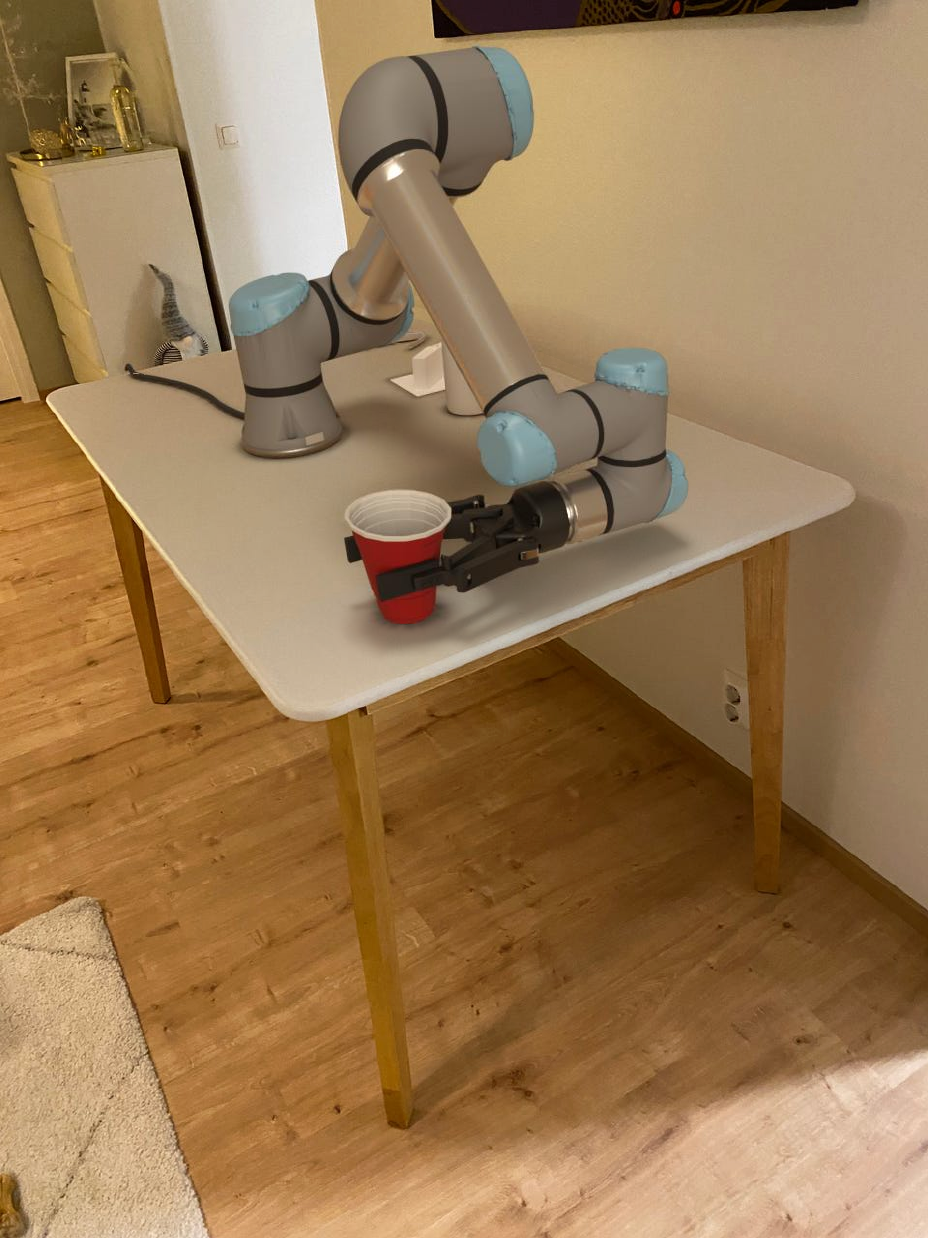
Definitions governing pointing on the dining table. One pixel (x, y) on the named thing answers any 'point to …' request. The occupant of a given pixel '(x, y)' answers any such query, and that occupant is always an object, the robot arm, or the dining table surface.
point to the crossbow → (413, 335)
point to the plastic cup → (399, 542)
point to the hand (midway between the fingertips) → (362, 568)
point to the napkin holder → (425, 372)
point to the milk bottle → (457, 387)
